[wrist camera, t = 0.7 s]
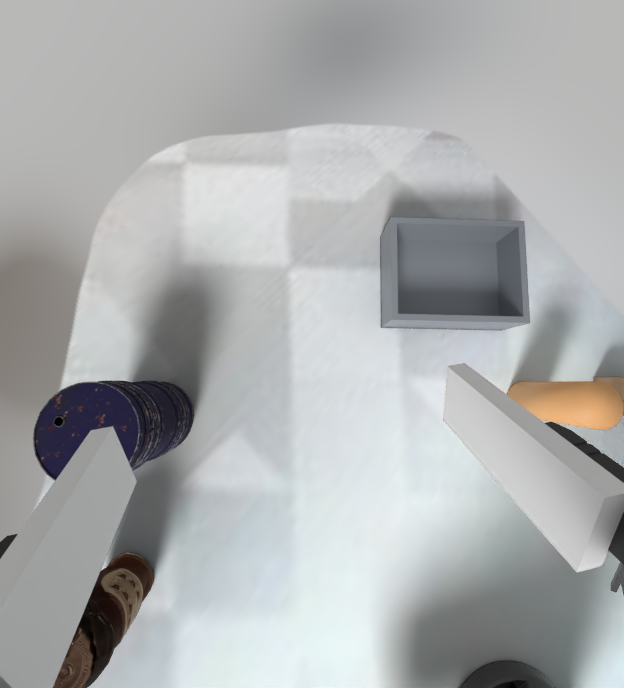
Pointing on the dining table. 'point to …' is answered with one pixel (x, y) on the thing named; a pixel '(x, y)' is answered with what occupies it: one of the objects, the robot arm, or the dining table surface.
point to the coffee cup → (105, 619)
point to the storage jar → (112, 420)
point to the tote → (453, 274)
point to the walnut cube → (614, 385)
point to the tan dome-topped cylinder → (570, 402)
